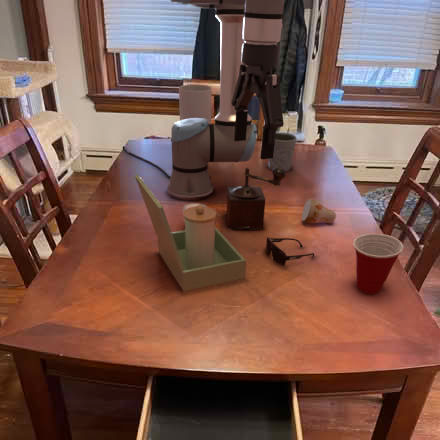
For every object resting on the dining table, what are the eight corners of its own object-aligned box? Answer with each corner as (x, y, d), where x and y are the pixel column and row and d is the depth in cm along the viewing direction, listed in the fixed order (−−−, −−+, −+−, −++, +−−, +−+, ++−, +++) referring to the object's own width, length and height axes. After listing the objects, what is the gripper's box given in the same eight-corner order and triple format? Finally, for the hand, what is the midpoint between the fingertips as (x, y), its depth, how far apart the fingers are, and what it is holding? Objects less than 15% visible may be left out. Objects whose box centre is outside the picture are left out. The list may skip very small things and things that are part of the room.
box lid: (137, 174, 107) (134, 175, 107) (162, 206, 92) (159, 208, 92) (158, 232, 117) (156, 233, 117) (184, 270, 102) (181, 271, 102)
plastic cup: (338, 275, 114) (347, 232, 107) (381, 274, 115) (392, 231, 108) (352, 301, 105) (363, 255, 98) (398, 299, 106) (411, 254, 99)
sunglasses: (259, 250, 123) (262, 233, 121) (296, 248, 128) (300, 231, 125) (278, 270, 115) (282, 252, 113) (317, 266, 120) (322, 249, 118)
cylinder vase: (177, 156, 187) (175, 90, 172) (184, 147, 197) (183, 83, 183) (207, 158, 185) (208, 92, 171) (213, 149, 195) (214, 85, 181)
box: (213, 244, 126) (214, 225, 123) (244, 280, 111) (246, 260, 108) (158, 254, 121) (157, 234, 117) (183, 294, 106) (183, 272, 103)
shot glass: (189, 237, 129) (188, 214, 125) (179, 227, 134) (178, 205, 130) (211, 232, 132) (211, 210, 128) (200, 223, 137) (200, 201, 133)
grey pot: (275, 161, 184) (278, 131, 177) (297, 167, 179) (301, 135, 172) (261, 168, 177) (264, 136, 170) (285, 174, 172) (288, 142, 165)
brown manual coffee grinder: (228, 231, 133) (230, 170, 122) (225, 214, 142) (227, 156, 131) (281, 230, 134) (288, 170, 123) (275, 214, 143) (281, 157, 132)
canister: (178, 264, 115) (176, 204, 106) (200, 253, 120) (200, 196, 111) (199, 276, 111) (198, 215, 102) (222, 264, 116) (223, 205, 107)
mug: (339, 228, 136) (329, 203, 130) (308, 238, 140) (296, 214, 134) (337, 212, 141) (327, 187, 135) (306, 222, 145) (295, 198, 138)
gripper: (310, 51, 84) (295, 165, 96) (250, 35, 103) (244, 132, 115) (274, 51, 81) (263, 168, 93) (219, 35, 100) (216, 135, 112)
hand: (252, 149), depth 104 cm, fingers open, 13 cm apart
